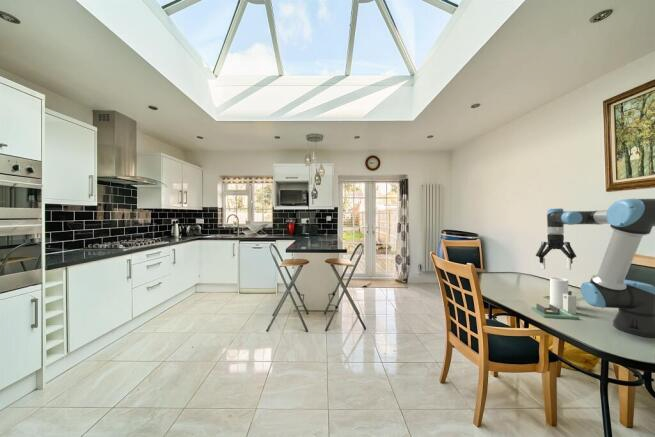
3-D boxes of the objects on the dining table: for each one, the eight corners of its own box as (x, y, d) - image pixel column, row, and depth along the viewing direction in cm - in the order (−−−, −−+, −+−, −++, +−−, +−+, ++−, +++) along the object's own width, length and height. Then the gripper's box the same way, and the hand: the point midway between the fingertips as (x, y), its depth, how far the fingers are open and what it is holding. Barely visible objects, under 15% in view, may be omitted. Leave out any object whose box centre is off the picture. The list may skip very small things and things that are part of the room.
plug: (576, 314, 144) (576, 292, 144) (567, 313, 145) (568, 292, 144) (571, 311, 148) (571, 290, 147) (562, 311, 148) (563, 290, 148)
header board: (578, 319, 137) (579, 311, 137) (544, 317, 140) (544, 309, 140) (562, 310, 148) (562, 303, 148) (531, 309, 151) (531, 302, 151)
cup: (560, 303, 161) (561, 277, 161) (571, 307, 153) (572, 280, 153) (546, 302, 162) (546, 277, 162) (556, 307, 154) (557, 280, 154)
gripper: (574, 233, 160) (575, 268, 159) (528, 233, 164) (529, 267, 164) (584, 234, 152) (584, 270, 152) (535, 234, 157) (536, 269, 157)
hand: (555, 268), depth 158 cm, fingers open, 13 cm apart
